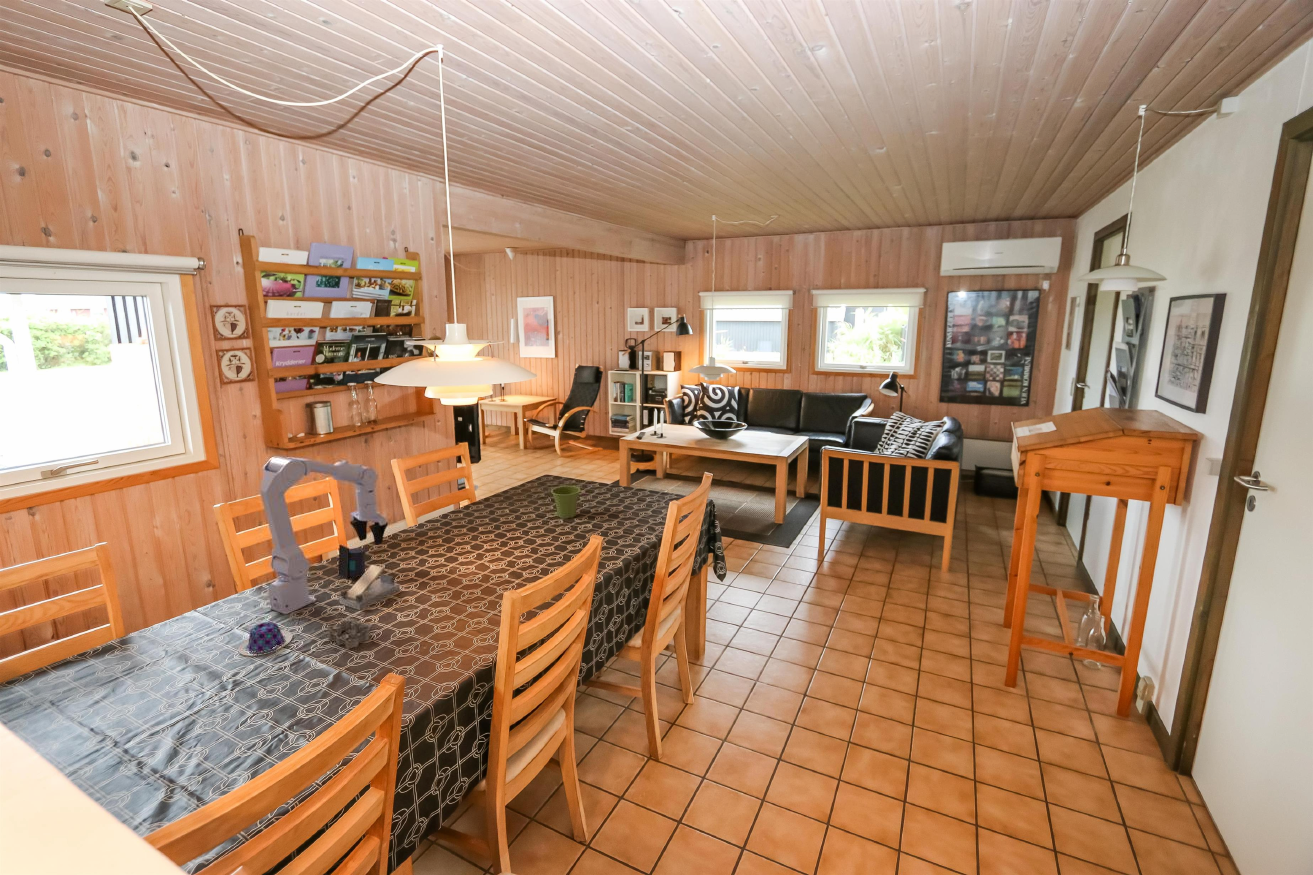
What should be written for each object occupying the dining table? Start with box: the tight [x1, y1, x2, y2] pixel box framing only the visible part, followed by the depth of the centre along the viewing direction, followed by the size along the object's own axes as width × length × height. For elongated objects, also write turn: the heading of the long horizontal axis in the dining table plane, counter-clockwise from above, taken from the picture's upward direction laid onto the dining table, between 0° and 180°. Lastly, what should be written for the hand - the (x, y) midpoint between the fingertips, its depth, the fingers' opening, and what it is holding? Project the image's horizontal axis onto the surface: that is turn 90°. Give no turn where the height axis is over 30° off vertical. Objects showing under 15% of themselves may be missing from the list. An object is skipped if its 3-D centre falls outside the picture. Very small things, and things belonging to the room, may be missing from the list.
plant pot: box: [550, 485, 581, 519], centre depth 251 cm, size 12×12×11 cm
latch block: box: [338, 573, 401, 611], centre depth 183 cm, size 14×9×4 cm, turn 153°
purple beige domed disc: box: [238, 621, 293, 657], centre depth 158 cm, size 12×12×5 cm
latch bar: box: [345, 564, 385, 600], centre depth 181 cm, size 12×5×1 cm
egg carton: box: [324, 617, 372, 649], centre depth 161 cm, size 11×8×4 cm
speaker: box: [338, 544, 367, 581], centre depth 197 cm, size 8×6×10 cm
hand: (370, 541), depth 200 cm, fingers open, 7 cm apart
